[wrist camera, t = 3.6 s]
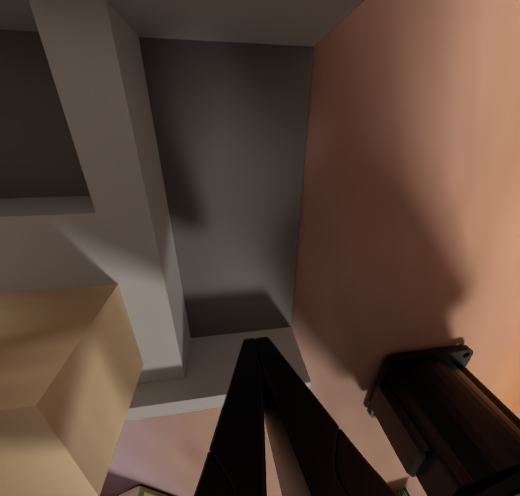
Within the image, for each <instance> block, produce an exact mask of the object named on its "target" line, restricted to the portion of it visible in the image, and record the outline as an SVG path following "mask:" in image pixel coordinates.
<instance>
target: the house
mask: <svg viewBox="0 0 520 496" xmlns="http://www.w3.org/2000/svg"><path fill="white" fill-rule="evenodd" d="M404 489H405V490H404V492H405V493H404V492H403V493H404V495H405V494H406V495H405V496H410V495H409V493H408V491H407V490H406V488H404ZM398 492H399V490H398ZM399 494H400V492H399ZM404 495H403V496H404ZM400 496H401V494H400Z"/></svg>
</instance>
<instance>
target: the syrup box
mask: <svg viewBox="0 0 520 496" xmlns="http://www.w3.org/2000/svg"><path fill="white" fill-rule="evenodd" d="M118 496H167V495H165V494H162V493H159V492H156V491H153V490H151V489H148V488H145V487H142V486H138V487H135V488H133V489H131V490H128V491H126V492H124V493H122V494H120V495H118Z"/></svg>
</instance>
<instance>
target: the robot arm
mask: <svg viewBox="0 0 520 496" xmlns="http://www.w3.org/2000/svg"><path fill="white" fill-rule="evenodd" d="M472 355H473V351H472V350H471V349H470V348H469V347H468V346H466V345H463V346H456V347H448V348H441V349H433V350H426V351H419V352H411V353H404V354H396V355H391V356H389V357H387V358H386V359H385V360H384V363H383V365H382V368H381V371H380V374H379V377H378V380H377V383H376V386H375V389H374V392H373V395H372V398H371V400H370V403H369V406H368V409H367V411H368V413H369V415H370V416H371V417H372V418H375V417H376V418H377V419H378V421H379V423H380V425H381V427H382V428H383V430H384V432H385V434H386V436H387V438H388V439H389V441H390V443H391V445H392V447H393V449H394V450H395V452H396V454H397V456H398V458H399V460H400V461H401V463H402V465H403V467H404V469H405V471H406V472H407V473H408V474H409V475H410V476H411V477H415V476H417V478H418V480H419V482H420V484H421V485H422V487H423V489H424V491H425V492H426V494H427V496H520V419H519V418H518V417H517V416H516V415H515V414H514V413H513V412H511V411H510V410H509V409H508V408H507V407H506V406H505V405H504V404H503V403H502V402H501V401H500V400H499V399H498V398H497V397H496V396H495V395H494V394H493V393H492V392H491V391H490V390H489V389H487V388H486V387H485V386H484V385H483V384H482V383H481V382H480V381H479V380H478V379H477V378H476V377H475V376H474V375H473V374H472V373H471V372H470V371H469V370H468V369H467V368H466V365H467V363H468V362H469V360H470V358H471V356H472ZM264 419H265V423H266V428H267V432H268V436H269V441H270V445H271V449H272V453H273V458H274V462H275V466H276V471H277V475H278V479H279V483H280V488H281V492H282V496H398V495H397V494H396V493H395V492H394V490H393V489H392V488H391V487H390V486H389V485H388V484H387V483H386V482H385V481H384V480H383V478H382V477H381V476H380V475H379V474H378V473H377V472H376V471H375V470H374V468H373V467H372V466H371V465H370V464H369V463H368V462H367V460H366V459H365V458H364V457H363V456H362V454H361V453H360V452H359V451H358V450H357V448H356V447H355V446H354V445H353V444H352V442H351V441H350V440H349V438H348V437H347V436H346V435H345V433H344V432H343V431H342V430H341V429H339V426H338V425H337V423H336V422H335V421H334V420H333V418H332V417H331V416H330V415H329V413H328V412H327V411H326V410H325V408H324V407H323V406H322V404H321V403H320V402H319V401H318V399H317V398H316V397H315V396H314V394H313V393H312V392H311V390H310V389H309V388H308V387H307V385H306V384H305V383H304V382H303V380H302V379H301V378H300V377H299V375H298V374H297V373H296V371H295V370H294V369H293V368H292V366H291V365H290V364H289V363H288V361H287V360H286V359H285V358H284V356H283V355H282V354H281V352H280V351H279V350H278V349H277V347H276V346H275V345H274V344H273V342H272V341H271V340H270V339H269V337H258V338H256V339H255V338H248V339H244V340H243V343H242V346H241V349H240V352H239V356H238V359H237V362H236V365H235V368H234V372H233V375H232V378H231V381H230V384H229V388H228V391H227V394H226V397H225V400H224V404H223V407H222V410H221V413H220V416H219V420H218V423H217V426H216V429H215V432H214V436H213V439H212V442H211V445H210V449H209V450H210V452H208V454H207V458H206V461H205V464H204V467H203V470H202V473H201V476H200V479H199V482H198V485H197V488H196V491H195V494H194V496H267V491H266V461H265V431H264Z"/></svg>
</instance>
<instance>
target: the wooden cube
mask: <svg viewBox="0 0 520 496" xmlns="http://www.w3.org/2000/svg"><path fill="white" fill-rule="evenodd" d="M143 365H144V364H143V361H142V358H141V354H140V351H139V348H138V345H137V342H136V339H135V335H134V332H133V329H132V326H131V323H130V320H129V316H128V313H127V310H126V307H125V304H124V301H123V297H122V294H121V291H120V288H119V285H118V284H113V285H100V286H87V287H74V288H61V289H48V290H35V291H23V292H10V293H0V496H100V493H101V490H102V487H103V484H104V481H105V478H106V475H107V472H108V469H109V466H110V463H111V460H112V457H113V454H114V451H115V448H116V445H117V442H118V439H119V436H120V433H121V430H122V427H123V424H124V421H125V418H126V415H127V412H128V409H129V406H130V403H131V400H132V397H133V394H134V391H135V388H136V385H137V383H138V380H139V377H140V374H141V371H142V368H143Z"/></svg>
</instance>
